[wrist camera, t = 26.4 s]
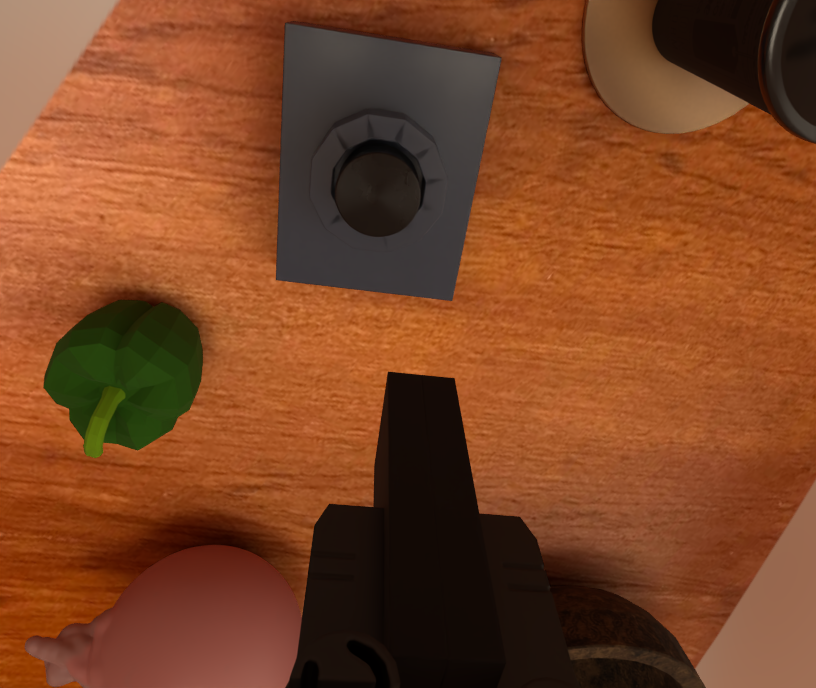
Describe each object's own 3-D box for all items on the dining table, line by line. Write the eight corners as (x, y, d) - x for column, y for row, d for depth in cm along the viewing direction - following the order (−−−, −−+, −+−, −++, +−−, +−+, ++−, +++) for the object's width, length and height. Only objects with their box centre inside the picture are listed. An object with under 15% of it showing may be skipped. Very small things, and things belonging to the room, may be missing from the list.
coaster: (700, -187, 28) (705, -190, 27) (855, -21, 31) (862, -22, 31) (536, 52, 33) (538, 53, 32) (687, 171, 36) (691, 173, 36)
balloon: (94, 471, 47) (-22, 658, 34) (335, 529, 51) (316, 716, 38) (75, 590, 54) (-26, 783, 41) (288, 633, 58) (258, 820, 45)
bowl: (421, 672, 62) (426, 781, 54) (463, 529, 52) (478, 636, 43) (616, 685, 65) (651, 791, 56) (696, 550, 54) (755, 656, 45)
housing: (292, 20, 31) (279, 24, 28) (493, 52, 33) (508, 60, 29) (282, 263, 38) (270, 293, 35) (448, 283, 40) (455, 314, 36)
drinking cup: (696, 120, 34) (1011, 247, 17) (596, 44, 32) (839, 100, 15) (802, -12, 31) (1323, -21, 14) (698, -107, 29) (1161, -259, 12)
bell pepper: (132, 253, 38) (56, 329, 29) (240, 327, 41) (200, 416, 32) (70, 338, 41) (-15, 430, 32) (175, 402, 44) (123, 501, 35)
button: (341, 137, 31) (338, 146, 29) (424, 149, 31) (427, 159, 29) (334, 219, 33) (331, 232, 31) (412, 229, 33) (413, 242, 32)
